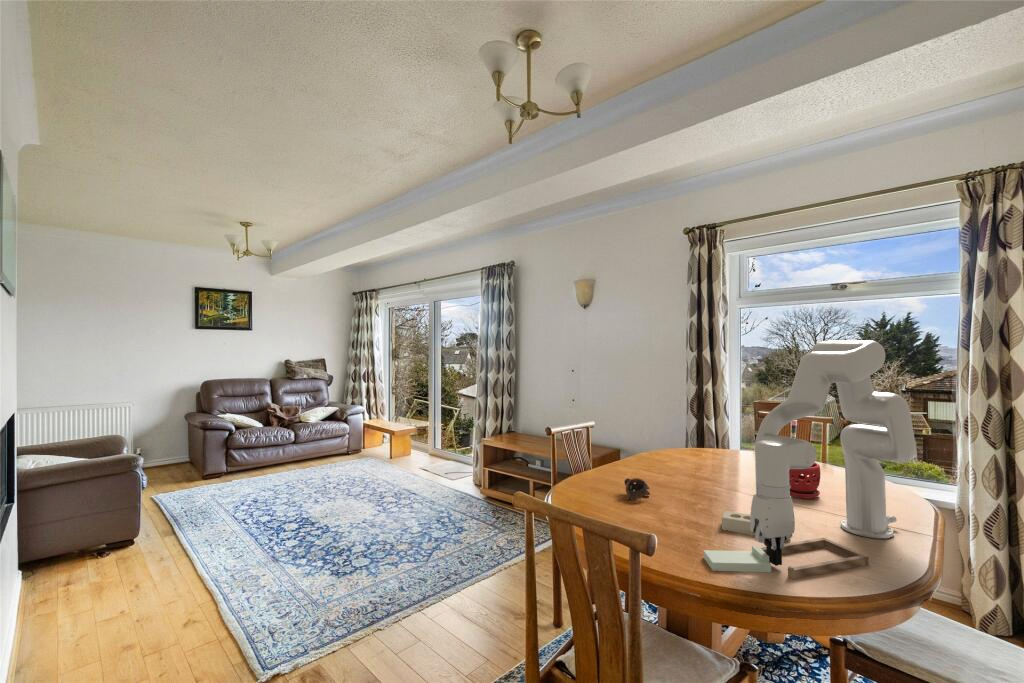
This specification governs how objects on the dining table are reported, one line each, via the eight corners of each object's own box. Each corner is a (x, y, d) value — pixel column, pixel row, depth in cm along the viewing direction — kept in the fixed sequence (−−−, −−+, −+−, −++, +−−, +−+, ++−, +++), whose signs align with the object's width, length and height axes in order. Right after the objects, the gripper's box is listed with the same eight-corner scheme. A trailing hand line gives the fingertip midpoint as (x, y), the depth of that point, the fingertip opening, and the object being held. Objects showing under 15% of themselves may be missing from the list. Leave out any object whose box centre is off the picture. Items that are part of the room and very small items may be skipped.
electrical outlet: (790, 528, 131) (721, 517, 141) (790, 542, 131) (721, 530, 141) (789, 520, 138) (724, 510, 147) (790, 533, 138) (724, 523, 147)
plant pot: (808, 489, 177) (808, 458, 178) (828, 501, 164) (828, 467, 164) (773, 489, 179) (772, 458, 179) (790, 500, 166) (789, 467, 166)
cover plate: (758, 560, 121) (758, 545, 121) (771, 574, 114) (770, 557, 114) (703, 559, 122) (703, 544, 122) (712, 572, 115) (712, 556, 115)
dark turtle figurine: (657, 500, 170) (653, 483, 167) (639, 514, 167) (635, 498, 163) (634, 483, 180) (630, 468, 177) (616, 497, 177) (612, 481, 174)
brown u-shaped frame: (823, 544, 129) (823, 535, 129) (868, 564, 117) (868, 554, 117) (752, 556, 122) (752, 547, 122) (792, 579, 110) (791, 568, 110)
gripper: (783, 483, 122) (785, 552, 122) (737, 488, 118) (738, 560, 118) (808, 491, 115) (810, 565, 115) (760, 498, 111) (762, 574, 111)
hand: (774, 562), depth 116 cm, fingers closed
